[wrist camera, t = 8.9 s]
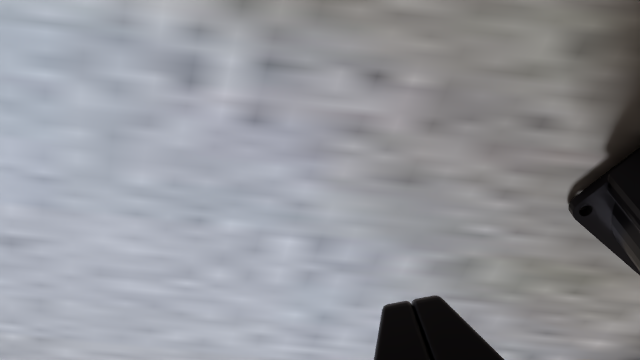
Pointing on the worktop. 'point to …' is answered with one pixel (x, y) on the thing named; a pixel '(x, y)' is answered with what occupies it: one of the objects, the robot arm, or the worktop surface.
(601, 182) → the robot arm
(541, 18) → the worktop surface
